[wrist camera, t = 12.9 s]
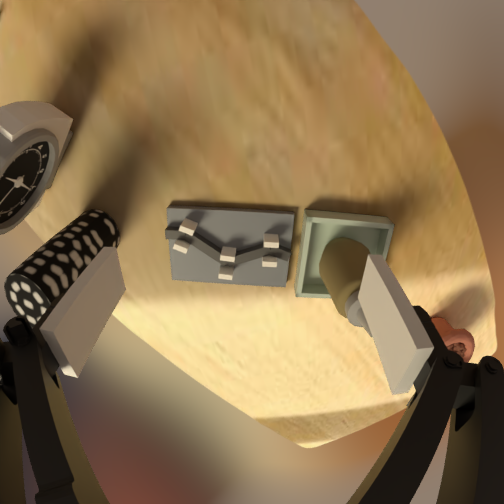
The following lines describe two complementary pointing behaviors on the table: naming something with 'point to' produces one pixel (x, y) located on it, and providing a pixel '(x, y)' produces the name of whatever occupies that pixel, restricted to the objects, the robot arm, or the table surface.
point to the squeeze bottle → (345, 277)
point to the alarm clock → (29, 156)
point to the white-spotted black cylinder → (59, 264)
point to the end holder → (326, 229)
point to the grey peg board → (229, 245)
